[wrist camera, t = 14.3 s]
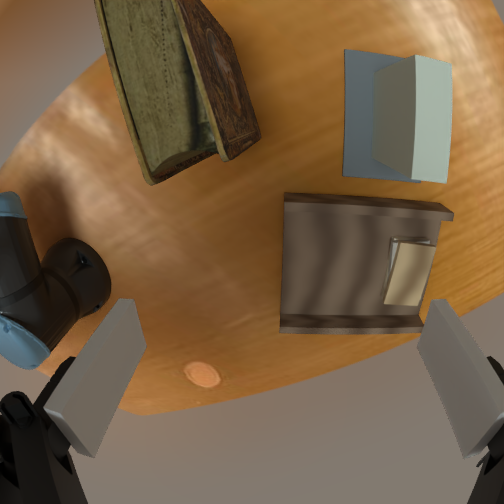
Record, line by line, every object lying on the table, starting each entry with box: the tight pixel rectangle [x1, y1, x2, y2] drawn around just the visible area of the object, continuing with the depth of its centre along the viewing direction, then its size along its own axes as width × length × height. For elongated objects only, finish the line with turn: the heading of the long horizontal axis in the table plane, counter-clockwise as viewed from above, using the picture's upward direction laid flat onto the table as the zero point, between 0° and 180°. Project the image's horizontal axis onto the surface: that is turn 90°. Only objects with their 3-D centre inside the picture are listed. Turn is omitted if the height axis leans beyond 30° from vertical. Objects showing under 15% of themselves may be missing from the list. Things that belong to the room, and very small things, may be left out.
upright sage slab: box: [371, 55, 452, 183], centre depth 30 cm, size 4×12×15 cm, turn 1°
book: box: [94, 0, 261, 185], centre depth 27 cm, size 16×6×25 cm, turn 16°
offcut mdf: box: [387, 239, 430, 300], centre depth 43 cm, size 6×10×1 cm, turn 6°
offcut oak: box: [382, 240, 436, 306], centre depth 42 cm, size 6×10×1 cm, turn 177°
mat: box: [342, 49, 421, 183], centre depth 37 cm, size 12×18×1 cm, turn 1°
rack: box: [279, 193, 454, 334], centre depth 44 cm, size 24×20×5 cm
